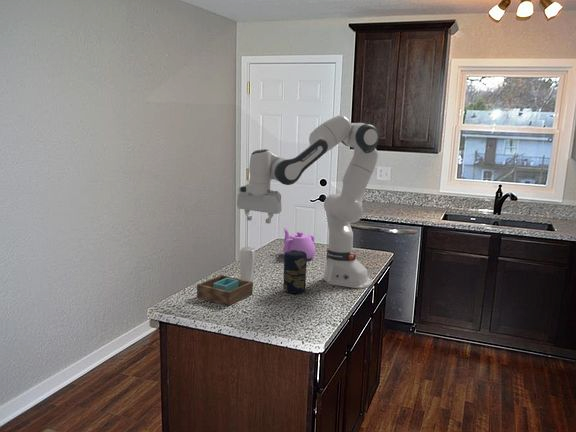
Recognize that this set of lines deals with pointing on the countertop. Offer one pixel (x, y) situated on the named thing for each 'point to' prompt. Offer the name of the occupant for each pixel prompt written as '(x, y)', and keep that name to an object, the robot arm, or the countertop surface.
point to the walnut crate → (222, 296)
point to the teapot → (299, 243)
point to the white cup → (246, 263)
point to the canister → (295, 271)
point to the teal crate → (226, 284)
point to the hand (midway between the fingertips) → (258, 221)
